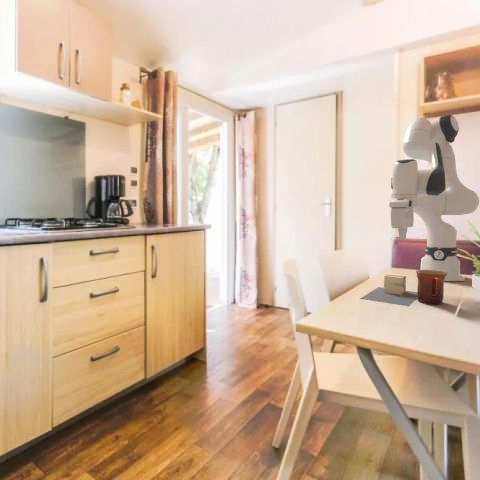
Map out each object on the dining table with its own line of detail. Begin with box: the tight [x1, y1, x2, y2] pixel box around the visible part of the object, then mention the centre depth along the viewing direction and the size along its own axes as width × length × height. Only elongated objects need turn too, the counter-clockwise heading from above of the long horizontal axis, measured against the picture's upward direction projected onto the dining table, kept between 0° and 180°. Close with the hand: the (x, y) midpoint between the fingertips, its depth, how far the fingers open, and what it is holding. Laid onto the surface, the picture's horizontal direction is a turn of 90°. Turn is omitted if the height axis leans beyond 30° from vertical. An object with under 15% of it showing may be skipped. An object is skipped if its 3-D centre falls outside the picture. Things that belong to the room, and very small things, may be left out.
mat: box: [359, 286, 418, 307], centre depth 119 cm, size 22×15×1 cm
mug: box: [415, 269, 447, 306], centre depth 108 cm, size 12×9×10 cm
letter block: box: [383, 273, 407, 295], centre depth 123 cm, size 6×6×6 cm
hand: (402, 239), depth 129 cm, fingers closed
